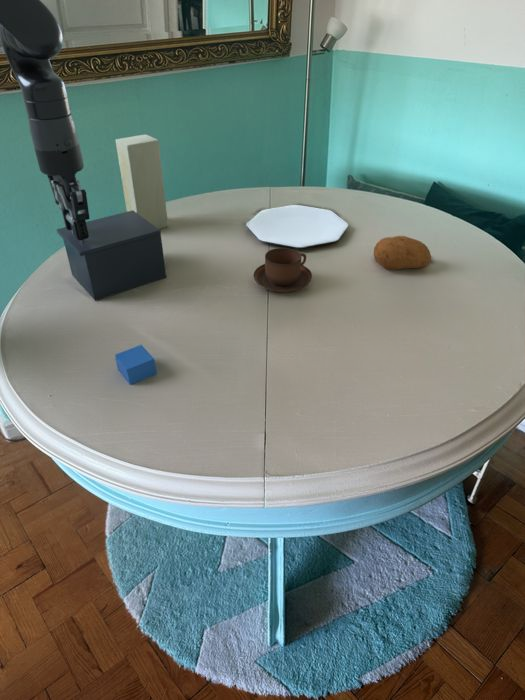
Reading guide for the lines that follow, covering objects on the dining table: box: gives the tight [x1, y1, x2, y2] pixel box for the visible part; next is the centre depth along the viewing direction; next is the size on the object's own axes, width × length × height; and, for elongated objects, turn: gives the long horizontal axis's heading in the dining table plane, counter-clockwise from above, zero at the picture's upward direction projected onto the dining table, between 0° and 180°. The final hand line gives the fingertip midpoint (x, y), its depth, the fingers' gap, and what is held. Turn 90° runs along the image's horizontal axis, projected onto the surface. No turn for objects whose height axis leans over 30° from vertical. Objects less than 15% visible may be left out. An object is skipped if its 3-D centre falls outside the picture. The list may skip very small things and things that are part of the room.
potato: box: [373, 235, 432, 271], centre depth 111 cm, size 7×13×7 cm, turn 96°
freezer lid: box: [56, 210, 162, 256], centre depth 103 cm, size 17×13×5 cm
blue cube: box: [114, 344, 158, 386], centre depth 82 cm, size 5×5×5 cm
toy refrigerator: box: [115, 134, 169, 230], centre depth 125 cm, size 8×7×21 cm
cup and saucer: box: [253, 247, 313, 293], centre depth 106 cm, size 12×12×6 cm
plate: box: [246, 204, 349, 249], centre depth 128 cm, size 24×24×2 cm
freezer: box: [62, 234, 167, 302], centre depth 107 cm, size 16×13×10 cm
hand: (77, 233), depth 100 cm, fingers closed on freezer lid, 5 cm apart
